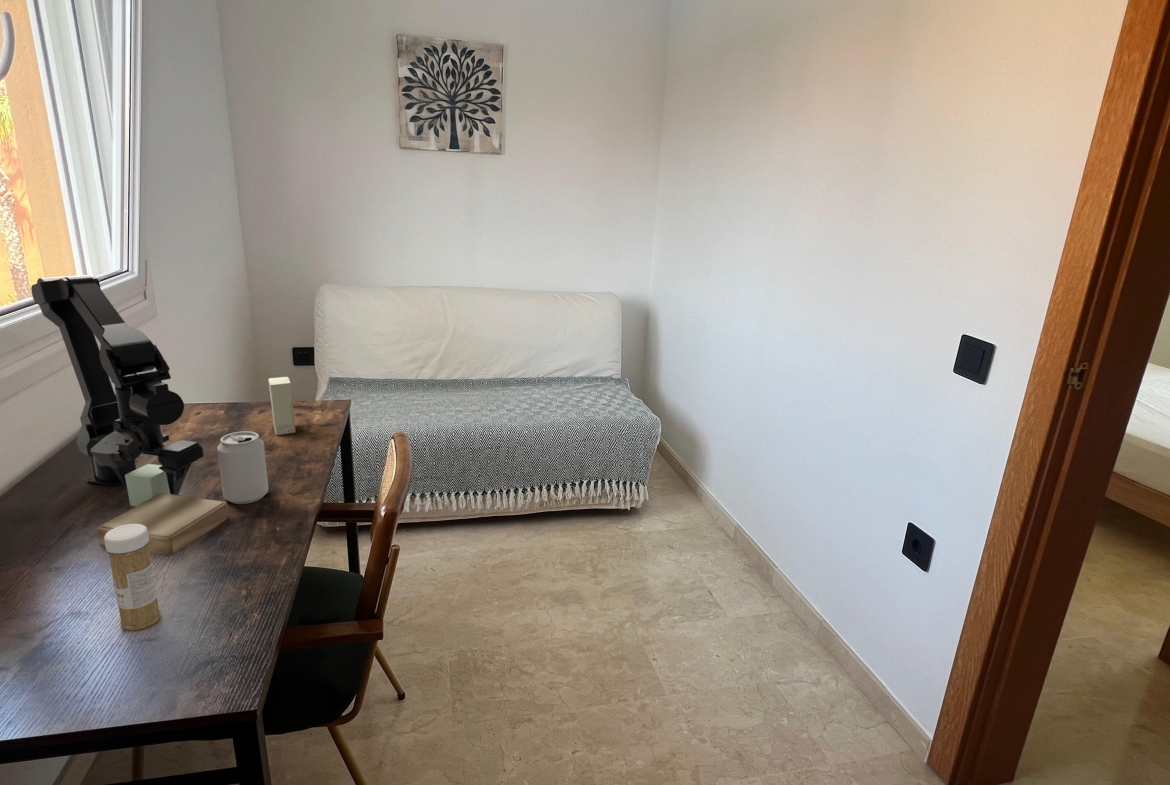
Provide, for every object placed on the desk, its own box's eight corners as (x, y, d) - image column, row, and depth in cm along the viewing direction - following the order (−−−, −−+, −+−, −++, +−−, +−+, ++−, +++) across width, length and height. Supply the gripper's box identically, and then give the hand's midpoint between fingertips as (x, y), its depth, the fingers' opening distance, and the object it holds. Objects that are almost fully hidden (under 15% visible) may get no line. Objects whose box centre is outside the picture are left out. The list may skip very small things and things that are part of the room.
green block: (130, 505, 117) (124, 474, 115) (152, 493, 122) (148, 463, 120) (154, 509, 116) (149, 478, 114) (176, 497, 121) (172, 467, 119)
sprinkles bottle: (115, 621, 87) (98, 530, 83) (154, 606, 90) (139, 518, 86) (127, 637, 84) (110, 544, 80) (167, 621, 88) (152, 531, 84)
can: (250, 508, 118) (243, 446, 114) (214, 502, 119) (206, 441, 116) (277, 490, 125) (271, 431, 121) (242, 485, 126) (235, 427, 123)
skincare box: (296, 433, 153) (291, 383, 149) (275, 435, 151) (269, 385, 147) (293, 424, 158) (288, 375, 155) (272, 426, 156) (267, 377, 153)
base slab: (98, 544, 105) (95, 527, 104) (164, 506, 117) (161, 491, 116) (171, 555, 102) (168, 538, 101) (230, 516, 115) (228, 501, 114)
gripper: (49, 420, 108) (66, 506, 112) (148, 433, 105) (162, 521, 109) (108, 400, 118) (122, 479, 123) (200, 411, 115) (210, 492, 120)
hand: (152, 493), depth 118 cm, fingers open, 9 cm apart
